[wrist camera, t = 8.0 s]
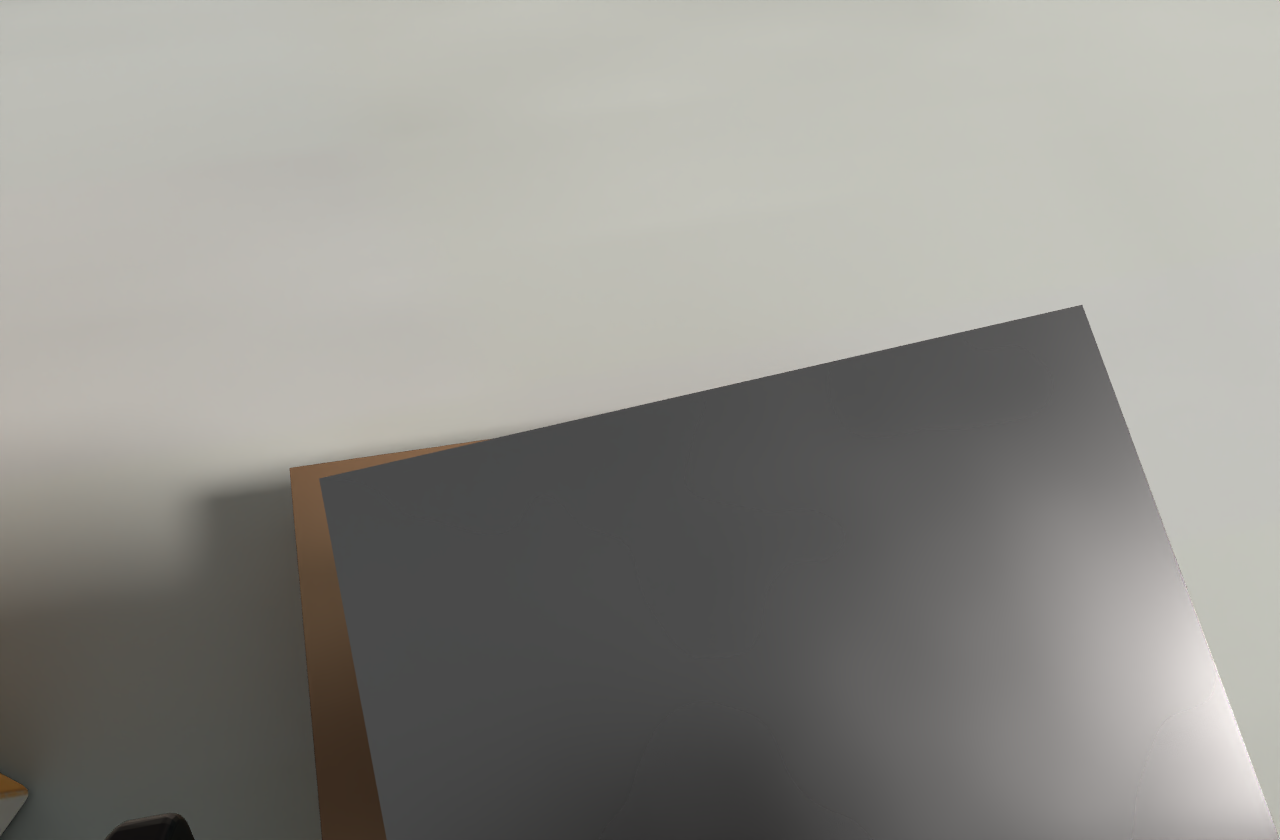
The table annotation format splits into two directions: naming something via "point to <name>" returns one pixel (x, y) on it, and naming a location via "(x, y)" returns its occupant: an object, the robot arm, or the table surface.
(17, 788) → the small box
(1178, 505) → the table surface
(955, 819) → the tea tin
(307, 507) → the walnut block
